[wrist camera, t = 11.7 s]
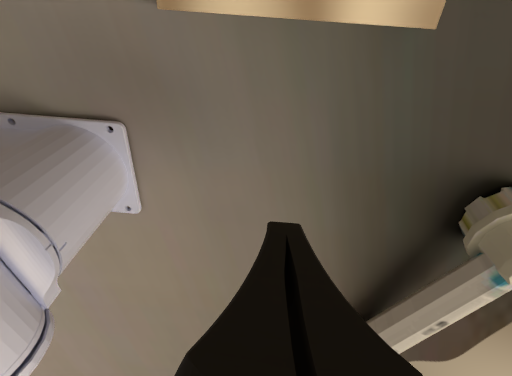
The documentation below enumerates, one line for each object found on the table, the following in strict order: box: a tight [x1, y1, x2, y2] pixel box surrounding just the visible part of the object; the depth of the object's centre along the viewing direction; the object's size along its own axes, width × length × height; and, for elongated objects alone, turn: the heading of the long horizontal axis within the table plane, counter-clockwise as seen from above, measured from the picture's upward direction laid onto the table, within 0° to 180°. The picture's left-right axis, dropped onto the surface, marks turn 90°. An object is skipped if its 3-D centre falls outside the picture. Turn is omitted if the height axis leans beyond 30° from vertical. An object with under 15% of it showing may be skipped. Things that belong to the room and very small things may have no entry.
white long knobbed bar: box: [366, 187, 512, 354], centre depth 26 cm, size 5×7×25 cm
